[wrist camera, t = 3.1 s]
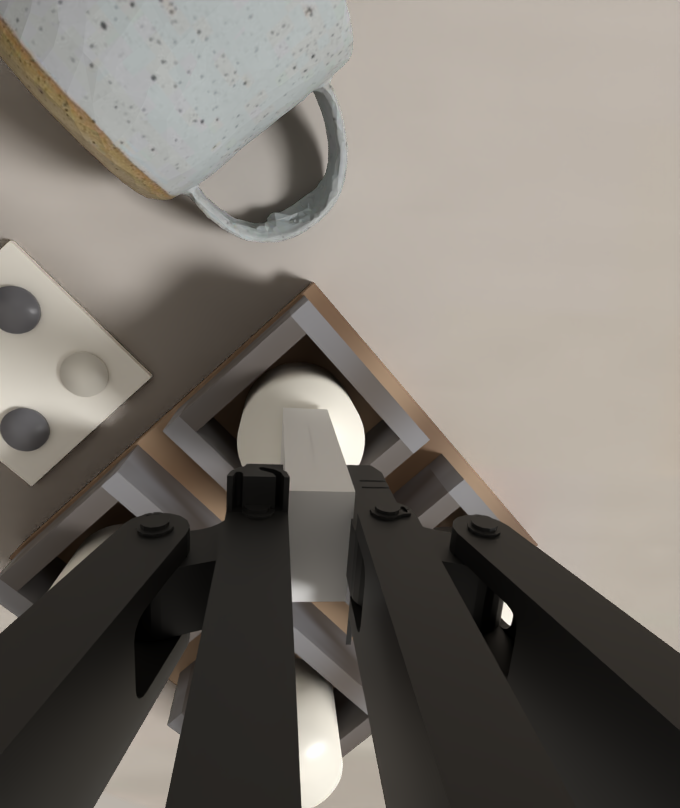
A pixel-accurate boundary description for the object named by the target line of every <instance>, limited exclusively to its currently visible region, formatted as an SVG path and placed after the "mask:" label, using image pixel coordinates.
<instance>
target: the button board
mask: <svg viewBox="0 0 680 808" xmlns="http://www.w3.org/2000/svg"><path fill="white" fill-rule="evenodd" d="M293 362H303V363H310V364H314V365H317V366H319V367H322V368H324V369H325V370H327V371H329V372H330V373H331V374H333V375H334V376H335V377H336V378H337V379H338V380H339V381H340V382H341V384H342V385H343V387H344V388H345V390H346V392H347V394H348V395H349V397H350V399H351V401H352V403H353V405H354V407H355V408H356V410H357V412H358V414H359V416H360V419H361V421H362V424H363V428H364V435H365V446H364V452H363V456H362V459H361V462H360V464H359V465H371V466H373V467H374V468H376V469H377V470H379V471H380V472H382V474H383V476H384V478H385V480H386V482H387V484H388V486H389V489H390V490H391V492H392V494H393V496H394V498H395V500H396V502H397V503H400V504H403V505H405V506H407V507H409V508H411V509H412V510H413V511H414V513H415V514H416V515H417V517H418V519H419V521H420V523H421V525H422V526H423V527H425V528H430V529H433V528H436V527H452V524H453V521H454V520H455V519H456V518H457V517H460V516H464V515H475V514H479V515H482V516H483V515H485V516H489V517H491V518H493V519H496V520H499V521H501V522H502V523H504V524H506V525H508V526H509V527H511V528H512V529H513V530H515V531H516V532H517V533H519V534H520V535H521V536H523V537H524V538H525V539H527V540H528V541H529V542H531V543H532V544H533V545H535V546H537V543H536V542H535V541H534V540H533V539H532V537H531V536H530V535H529V534H528V533H527V532H526V530H525V529H524V528H523V527H522V526H521V525H520V523H519V522H518V521H517V520H516V519H515V518H514V516H513V515H512V514H511V513H510V512H509V511H508V509H507V508H506V507H505V506H504V505H503V503H502V502H501V501H500V500H499V499H498V498H497V496H496V495H495V494H494V493H493V492H492V491H491V489H490V488H489V487H488V486H487V485H486V484H485V482H484V481H483V480H482V479H481V478H480V477H479V475H478V474H477V473H476V472H475V471H474V470H473V468H472V467H471V466H470V465H469V464H468V462H467V461H466V460H465V459H464V458H463V457H462V455H461V454H460V453H459V452H458V451H457V450H456V448H455V447H454V446H453V445H452V444H451V443H450V441H449V440H448V439H447V438H446V437H445V436H444V434H443V433H442V432H441V431H440V430H439V428H438V427H437V426H436V425H435V424H434V423H433V421H432V420H431V419H430V418H429V417H428V416H427V414H426V413H425V412H424V411H423V410H422V409H421V407H420V406H419V405H418V404H417V403H416V402H415V400H414V399H413V398H412V397H411V396H410V395H409V393H408V392H407V391H406V390H405V389H404V387H403V386H402V385H401V384H400V383H399V382H398V380H397V379H396V378H395V377H394V376H393V375H392V373H391V372H390V371H389V370H388V369H387V368H386V366H385V365H384V364H383V363H382V362H381V361H380V359H379V358H378V357H377V356H376V355H375V353H374V352H373V351H372V350H371V349H370V348H369V346H368V345H367V344H366V343H365V342H364V341H363V339H362V338H361V337H360V336H359V335H358V334H357V332H356V331H355V330H354V329H353V328H352V327H351V325H350V324H349V323H348V322H347V321H346V319H345V318H344V317H343V316H342V315H341V314H340V312H339V311H338V310H337V309H336V308H335V307H334V305H333V304H332V303H331V302H330V301H329V300H328V298H327V297H326V296H325V295H324V294H323V293H322V291H321V290H320V289H319V288H318V287H317V286H316V284H315V283H314V282H312V283H310V284H309V285H308V286H307V287H306V288H305V289H304V290H303V291H302V292H300V293H299V294H298V295H297V296H296V297H295V298H294V299H293V300H292V301H290V302H289V303H288V304H287V305H286V306H285V307H284V308H283V309H282V310H280V311H279V312H278V313H277V314H276V315H275V316H274V317H273V318H272V319H270V320H269V321H268V322H267V323H266V324H265V325H264V326H263V327H262V328H260V329H259V330H258V331H257V332H256V333H255V334H254V335H253V336H252V337H250V338H249V339H248V340H247V341H246V342H245V343H244V344H243V345H242V346H241V347H239V348H238V349H237V350H236V351H235V352H234V353H233V354H232V355H231V356H229V357H228V358H227V359H226V360H225V361H224V362H223V363H222V364H221V365H219V366H218V367H217V368H216V369H215V370H214V371H213V372H212V373H211V374H209V375H208V376H207V377H206V378H205V379H204V380H203V381H202V382H201V383H199V384H198V385H197V386H196V387H195V388H194V389H193V390H192V391H191V392H189V393H188V394H187V395H186V396H185V397H184V398H183V399H182V400H181V401H179V402H178V403H177V404H176V405H175V406H174V407H173V408H172V409H171V410H169V411H168V412H167V413H166V414H165V415H164V416H163V417H162V418H161V419H160V420H158V421H157V422H156V423H155V424H154V425H153V426H152V427H151V428H150V429H148V430H147V431H146V432H145V433H144V434H143V435H142V436H141V437H140V438H138V439H137V440H136V441H135V442H134V443H133V444H132V445H131V446H130V447H128V448H127V449H126V450H125V451H124V452H123V453H122V454H121V455H120V456H118V457H117V458H116V459H115V460H114V461H113V462H112V463H111V464H110V465H108V466H107V467H106V468H105V469H104V470H103V471H102V472H101V473H100V474H98V475H97V476H96V477H95V478H94V479H93V480H92V481H91V482H90V483H88V484H87V485H86V486H85V487H84V488H83V489H82V490H81V491H80V492H78V493H77V494H76V495H75V496H74V497H73V498H72V499H71V500H70V501H69V502H67V503H66V504H65V505H64V506H63V507H62V508H61V509H60V510H59V511H57V512H56V513H55V514H54V515H53V516H52V517H51V518H50V519H49V520H47V521H46V522H45V523H44V524H43V525H42V526H41V527H40V528H39V529H37V530H36V531H35V532H34V533H33V534H32V535H31V536H30V537H29V538H27V539H26V540H25V541H24V542H23V543H22V544H21V545H20V546H19V547H18V548H17V550H16V551H15V552H14V553H13V554H12V555H11V556H10V557H9V559H11V560H12V561H11V562H10V563H9V564H8V565H7V566H6V567H5V569H4V570H3V571H2V572H1V573H0V604H1V605H2V606H3V607H5V608H6V609H8V610H9V611H10V612H12V613H13V614H15V615H16V616H17V617H19V616H21V615H22V614H23V613H24V612H25V611H26V610H27V609H28V608H30V607H31V606H32V605H33V604H34V603H35V602H36V601H37V600H39V599H40V598H41V597H42V596H43V595H44V594H45V593H46V592H48V590H49V589H50V588H51V586H52V585H53V583H54V582H55V581H56V579H57V578H58V576H59V575H60V573H61V572H62V571H63V569H64V568H65V566H66V565H67V563H68V562H69V561H70V559H71V558H72V556H73V555H74V554H75V552H76V551H77V549H78V548H79V547H80V545H81V544H82V543H83V542H84V541H85V540H86V539H87V538H88V537H89V536H90V535H92V534H93V533H95V532H97V531H98V530H101V529H103V528H105V527H109V526H112V525H118V524H124V523H126V522H128V521H129V520H131V519H132V518H135V517H138V516H142V515H144V514H147V513H153V512H162V513H171V514H175V515H179V516H182V517H183V518H185V519H186V520H188V523H189V525H190V531H193V530H199V529H204V528H208V527H212V526H214V525H217V524H219V523H221V522H222V521H224V520H225V515H226V497H227V475H228V474H229V472H230V471H232V470H234V469H236V468H238V467H242V465H241V462H240V459H239V455H238V450H237V436H238V430H239V426H240V422H241V417H242V413H243V409H244V405H245V401H246V398H247V395H248V393H249V391H250V389H251V387H252V386H253V385H254V383H255V382H256V381H257V380H258V379H259V378H260V377H261V376H262V375H263V374H264V373H266V372H267V371H269V370H271V369H272V368H274V367H277V366H279V365H283V364H286V363H293ZM349 602H350V591H349V586H348V582H347V593H346V601H336V602H292V609H293V631H294V653H295V658H297V659H302V660H304V661H305V662H306V663H308V664H309V665H310V666H311V667H312V668H313V669H315V670H316V671H317V672H318V673H319V674H320V675H322V676H323V677H324V678H325V679H326V680H327V681H329V682H330V683H331V684H332V687H333V693H334V701H335V708H336V716H337V724H338V731H339V739H340V747H341V754H342V757H344V756H345V755H346V754H347V753H349V752H350V751H351V750H352V749H354V748H355V747H356V746H357V745H359V744H360V743H361V742H363V741H364V740H365V739H366V738H368V737H369V736H370V735H371V734H372V733H371V728H370V723H369V718H368V713H367V708H366V702H365V697H364V692H363V687H362V682H361V677H360V672H359V667H358V662H357V657H356V652H355V646H354V641H353V637H352V639H351V645H346V636H347V624H348V613H349ZM201 632H202V630H199V631H195V632H191V633H190V639H189V643H188V646H187V648H186V649H185V651H184V653H183V655H182V656H181V658H180V660H179V661H178V663H177V665H176V667H175V668H174V670H173V672H172V674H171V675H170V677H169V680H170V681H171V682H173V683H174V684H175V685H177V686H176V691H175V695H174V699H173V703H172V707H171V711H170V716H169V720H168V724H167V725H168V726H169V727H170V728H172V729H173V730H174V731H176V732H177V733H179V734H181V729H182V724H183V719H184V715H185V710H186V705H187V700H188V695H189V690H190V685H191V681H192V676H193V671H194V666H195V661H196V656H197V651H198V646H199V642H200V637H201Z"/></svg>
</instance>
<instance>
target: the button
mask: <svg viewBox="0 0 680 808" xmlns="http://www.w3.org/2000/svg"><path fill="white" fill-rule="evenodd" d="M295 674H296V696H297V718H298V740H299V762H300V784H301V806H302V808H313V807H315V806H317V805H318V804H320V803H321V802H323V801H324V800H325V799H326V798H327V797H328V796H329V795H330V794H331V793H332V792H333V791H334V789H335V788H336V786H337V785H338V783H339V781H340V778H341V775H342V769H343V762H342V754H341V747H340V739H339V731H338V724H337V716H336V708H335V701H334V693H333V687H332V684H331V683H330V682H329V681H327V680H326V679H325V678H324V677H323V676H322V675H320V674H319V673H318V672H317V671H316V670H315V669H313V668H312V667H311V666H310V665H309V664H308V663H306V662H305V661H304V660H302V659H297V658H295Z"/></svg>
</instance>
